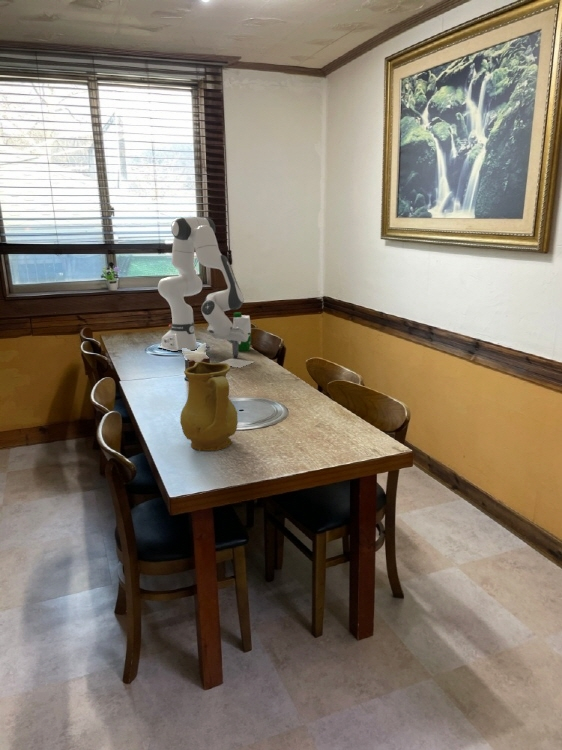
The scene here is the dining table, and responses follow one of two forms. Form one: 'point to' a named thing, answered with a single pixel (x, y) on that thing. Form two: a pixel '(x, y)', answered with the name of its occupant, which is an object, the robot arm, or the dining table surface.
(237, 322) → the milk carton
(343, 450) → the dining table surface
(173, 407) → the dining table surface
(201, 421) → the pitcher
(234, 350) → the marker
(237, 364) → the paper
